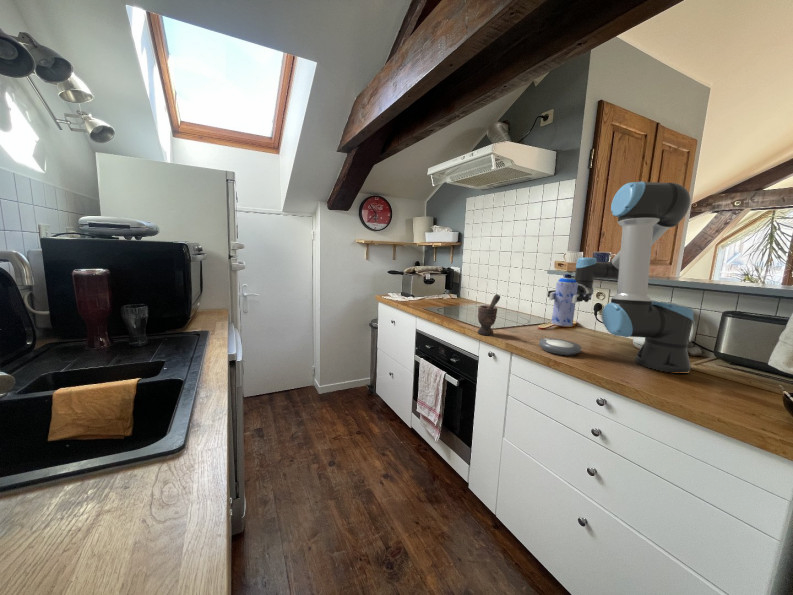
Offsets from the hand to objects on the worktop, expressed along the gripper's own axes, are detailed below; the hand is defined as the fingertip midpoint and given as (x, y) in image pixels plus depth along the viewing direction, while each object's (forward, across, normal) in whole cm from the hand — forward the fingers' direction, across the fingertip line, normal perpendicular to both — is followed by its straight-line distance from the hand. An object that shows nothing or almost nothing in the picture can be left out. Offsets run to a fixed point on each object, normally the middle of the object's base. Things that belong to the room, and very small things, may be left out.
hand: (561, 298), depth 118 cm
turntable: (-5, 0, -21) cm, 21 cm away
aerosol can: (-5, 0, -11) cm, 12 cm away
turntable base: (-5, 0, -22) cm, 23 cm away
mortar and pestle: (-5, +31, -23) cm, 38 cm away
